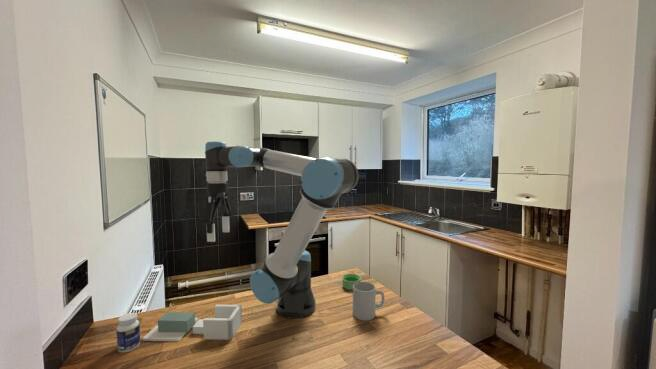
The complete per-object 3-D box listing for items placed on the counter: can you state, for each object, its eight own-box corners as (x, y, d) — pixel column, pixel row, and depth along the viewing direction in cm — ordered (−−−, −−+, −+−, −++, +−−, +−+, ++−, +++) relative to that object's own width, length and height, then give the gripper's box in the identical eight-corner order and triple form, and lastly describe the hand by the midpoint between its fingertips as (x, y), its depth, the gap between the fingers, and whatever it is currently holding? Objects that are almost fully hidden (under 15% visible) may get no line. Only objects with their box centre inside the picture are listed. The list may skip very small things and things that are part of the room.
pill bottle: (128, 354, 80) (126, 323, 80) (112, 352, 81) (110, 320, 81) (145, 342, 86) (143, 312, 85) (130, 340, 87) (128, 310, 86)
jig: (241, 322, 97) (241, 304, 96) (231, 339, 87) (231, 320, 87) (203, 321, 97) (202, 304, 96) (188, 338, 87) (187, 319, 87)
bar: (195, 323, 95) (194, 312, 94) (187, 332, 90) (186, 321, 89) (167, 322, 95) (167, 312, 95) (158, 331, 90) (157, 320, 90)
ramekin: (340, 290, 121) (340, 280, 121) (342, 281, 130) (342, 272, 130) (360, 291, 120) (360, 282, 119) (361, 283, 128) (361, 274, 128)
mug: (354, 321, 97) (354, 292, 96) (351, 308, 106) (351, 281, 105) (387, 320, 98) (387, 291, 97) (381, 307, 106) (381, 280, 105)
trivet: (198, 319, 98) (197, 317, 98) (179, 341, 86) (178, 338, 86) (165, 319, 99) (165, 317, 98) (142, 340, 87) (142, 338, 87)
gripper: (221, 180, 116) (222, 228, 117) (190, 184, 91) (192, 246, 92) (238, 180, 115) (239, 228, 117) (212, 184, 91) (214, 246, 92)
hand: (219, 236), depth 105 cm, fingers open, 13 cm apart
